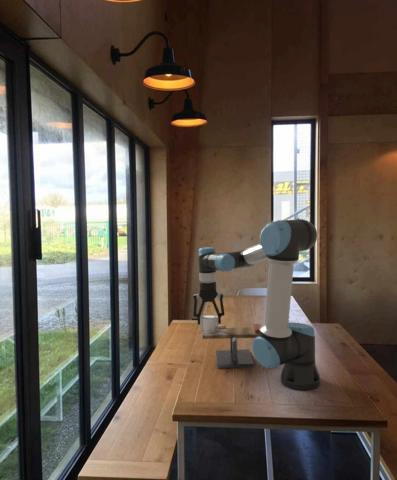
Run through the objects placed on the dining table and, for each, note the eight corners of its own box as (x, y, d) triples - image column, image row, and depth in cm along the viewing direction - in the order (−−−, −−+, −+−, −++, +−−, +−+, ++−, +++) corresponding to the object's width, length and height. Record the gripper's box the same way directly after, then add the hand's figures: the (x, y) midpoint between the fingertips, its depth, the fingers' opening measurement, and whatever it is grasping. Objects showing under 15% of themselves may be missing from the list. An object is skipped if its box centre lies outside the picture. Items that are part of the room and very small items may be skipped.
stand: (249, 352, 190) (248, 325, 189) (254, 366, 172) (253, 337, 171) (216, 353, 190) (214, 327, 189) (217, 368, 172) (216, 339, 171)
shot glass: (207, 328, 185) (207, 314, 184) (219, 331, 181) (219, 316, 180) (198, 332, 180) (198, 317, 179) (210, 334, 175) (210, 319, 175)
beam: (261, 332, 185) (261, 323, 185) (265, 340, 174) (265, 330, 174) (202, 334, 186) (202, 324, 185) (202, 341, 175) (202, 331, 174)
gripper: (228, 279, 182) (230, 327, 184) (186, 280, 182) (188, 329, 184) (230, 282, 175) (231, 332, 176) (185, 283, 175) (187, 334, 176)
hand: (209, 330), depth 180 cm, fingers closed on shot glass, 7 cm apart
